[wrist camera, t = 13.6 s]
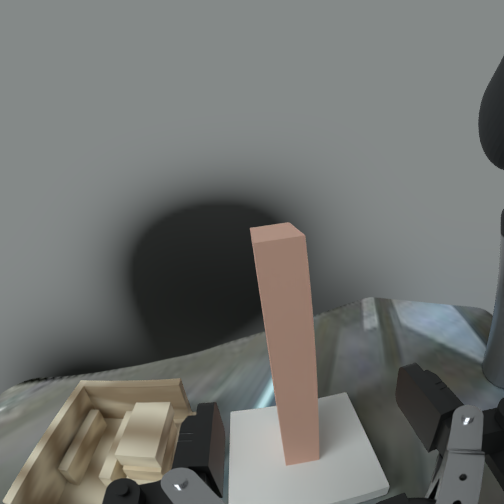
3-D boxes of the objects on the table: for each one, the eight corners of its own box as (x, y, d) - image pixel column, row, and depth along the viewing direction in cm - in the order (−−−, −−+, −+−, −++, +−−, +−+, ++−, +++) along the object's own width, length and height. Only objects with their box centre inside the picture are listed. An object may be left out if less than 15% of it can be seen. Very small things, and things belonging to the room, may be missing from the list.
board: (279, 423, 28) (250, 228, 23) (307, 418, 28) (288, 222, 23) (285, 465, 22) (253, 243, 17) (319, 459, 22) (305, 235, 17)
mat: (233, 420, 31) (230, 411, 31) (345, 401, 31) (346, 392, 31) (232, 523, 17) (228, 516, 17) (386, 494, 17) (389, 486, 17)
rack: (100, 419, 31) (80, 380, 30) (203, 420, 31) (189, 377, 30) (45, 538, 12) (2, 501, 10) (186, 573, 12) (153, 548, 10)
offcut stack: (149, 432, 28) (135, 402, 27) (183, 431, 28) (171, 401, 27) (132, 487, 20) (112, 458, 19) (173, 490, 20) (155, 462, 19)
